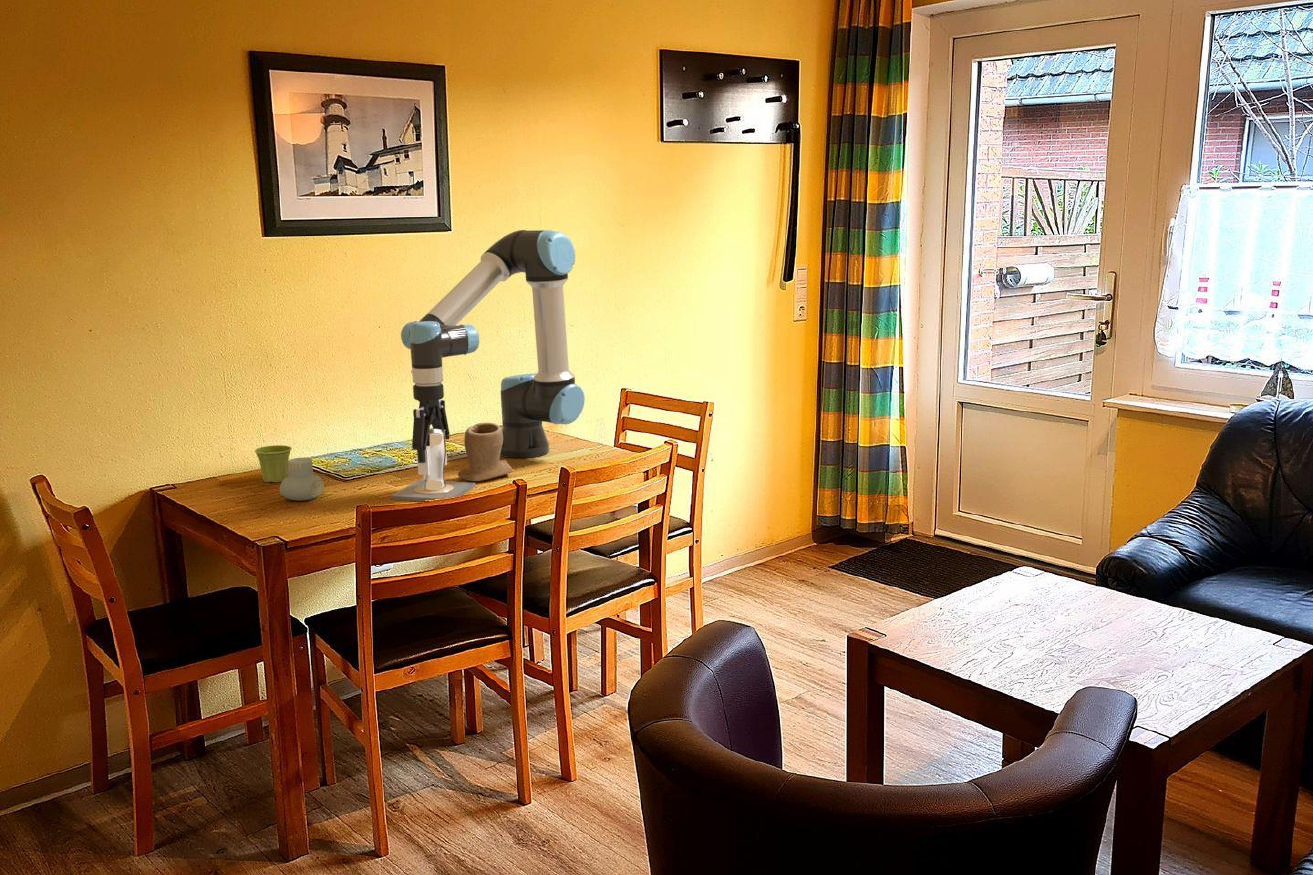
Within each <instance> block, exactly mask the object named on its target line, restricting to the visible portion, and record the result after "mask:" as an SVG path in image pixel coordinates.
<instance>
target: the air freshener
mask: <svg viewBox="0 0 1313 875" xmlns="http://www.w3.org/2000/svg"><path fill="white" fill-rule="evenodd" d="M313 468H314V467H313V459H311V458H310V457H295V458H291V459H289V461H288V477H287V478H285V479H284V480H283V481H282V482H281V483H280V486H279V493H280V494H281V496H283V497H284V498H285V499H288V500H290V501H296V502H301V501H302V502H303V501H311V500H314V499H316V498H317V497H319V496H320V495H321V493H322V492H323V490H324V487H325V486H324V484H325V483H324V480H323V479H322V478H321V477H320V476H319V475H316V474H314V469H313Z"/></svg>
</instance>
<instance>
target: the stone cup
mask: <svg viewBox="0 0 1313 875" xmlns="http://www.w3.org/2000/svg"><path fill="white" fill-rule="evenodd" d="M463 441H464V448H465V449H464V450H465V453H466V455H467V458H468V463H469V467H468V468H465V469H462V470H459V471H458V472H457V476H458V477H459V478H460V479H462V480H465V481H469V482H470V481H471V482H481V481H485V480H490V479H494V478H497V477H498V478H499V477H501V476H505V475H508V474H511V473H513V471H514V470H513V467H512V466H510V464H509V463H508V461H507V460H506V459H500V458H501V456H500V453H501V448H502V445H503V432H502V427H501V426H500V424H497V423H494V422H479V423H476V424H474V425H473V426H468V427H467V429H466V430H465V433H464V440H463Z"/></svg>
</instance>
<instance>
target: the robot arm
mask: <svg viewBox="0 0 1313 875" xmlns="http://www.w3.org/2000/svg"><path fill="white" fill-rule="evenodd" d="M575 250H576V249H575V247H574V245H573V242H572V240H571V239H570V238H569V237H568V236H567V235H566V233H563V232H560V231H555V230H551V229H550V230H548V229H546V230H544V229H543V230H542V229H541V230H539V229H538V230H529V229H528V230H527V229H521V230H514V231H512V232H511V233H508V234H506V235H505V236H503V237H502V238H500V239H498V240H497V241H496V242H494V244H492V245H491V246H489V247H488V249H486V251H484V252H483V253H482V255H481V256H480V261H479V263H477V265H475V266H474V267H473V268H472V269H471V270H470V271H469V272H468V273H467V274H466V275H465V276H464V277H463V278H462V279H461V280H460V281H459V282H458V283H457V284H456V285H455V286H454V287H453V288H452V289H451V290H450V291H449V292H448V293H447V294H446V295H445V296H444V297H442V298H441V299H440V300H439V302H437V303H436V304H435V305H434V306H433V307H432V308H431V309H430V310H429V311H428V312H427V313H426V314H425V315H424V316H423V317H422V318H421V319H419V321H416V320H414V321H410V322H407V323H406V324H405V325H404V326H403V327H402V329H401V332H400V340H401V342H402V345H404V347H406V349H408V350H410V359H411V371H410V372H411V373H410V374H412V383H414V385H413V386H412V391H413V392H412V394H413V399H414V400H415V401H418V405H419V406H418V408H414V409H413V410H412V414H413V415H412V416H413V425H412V428H413V429H412V438H411V440H412V444H411V448H412V450H415V451H416V457H417V472H418V476H423V475H430V472H429V454H428V449H426V447H427V441H428V435H429V429H430V428H431V427H432V428H438V429H443V430H444V432H445V440H448V441H449V440H450V430H449V429H450V428H449V423H448V418H447V412H446V401H445V399H443V398H445V397H444V396H445V389H444V384H443V382H444V373H443V369H444V368H443V358H449V357H455V356H461V355H463V356H467V355H468V354H472V353H475V352H476V351H477V350H478V348H479V346H480V343H481V342H480V334H479V331H478V330H477V328H476V327H475V326H473V325H471V324H459V323H460V322H461V321H462V320H463V319H464V318H465V317H466V316H468V314H469V313H470V312H471V311H472V310H473V309H474V308H475V307H476V306H477V305H479V303H480V302H481V301H482V300H483V299H484V298H485V297H486V296H488V294H489V293H490V292H491V291H492V290H493V289H494V288H495V287H496V286H497V285H498V284H499V283H500V282H506V281H507V280H509V279H510V278H511V276H513V275H515V274H520V273H523V274H524V273H525V282H526V283H527V284H528V285H529V286H530V287H531V289H532V291H531V292H532V305H533V317H534V332H535V344H536V345H535V346H536V347H535V348H536V357H537V359H536V360H537V373H525V374H517V375H516V374H515V375H511V376H507V377H506V376H505V377H504V378H502V380H501V382H500V391H499V392H500V405H501V420H502V427H501V429H502V432H503V445H502V448H501V453H500V457H504V458H511V459H512V458H513V459H522V458H523V459H524V458H525V459H526V458H527V459H528V458H535V457H541V456H544V455H547V454H548V453H549V452H550V444H549V440H548V438H547V435H546V432H545V429H544V426H543V422H545V423H548V424H549V423H551V424H552V425H553V424H554V425H570V424H572V423H574V422H575V421H576V420H578V418H579V416H580V415H581V414H582V412H583V409H584V406H585V399H586V398H585V392H584V390H583V389H582V387H581V386H579V385H578V384H576V379H575V377H576V376H575V374H574V373H573V372H572V371H571V370H570V366H569V355H568V341H567V340H568V339H567V327H566V326H567V325H566V309H565V297H564V296H565V295H564V293H565V292H564V284H565V283H566V282H567V281H568V280H569V273H570V272H571V271H572V270H573V269H574V265H575V263H576V251H575ZM458 324H459V325H458ZM447 457H448V456H447V455H446V458H445V466H447V465H448V459H447Z"/></svg>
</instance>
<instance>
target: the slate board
mask: <svg viewBox="0 0 1313 875" xmlns="http://www.w3.org/2000/svg"><path fill="white" fill-rule="evenodd" d="M422 483H423V479H418V480H416V481H413V482H412V483H411V484H409V485H407V486H406V487H404V488H402V489H401V490H399V491H397V492H395V493H393V494H392V495H391V496H390V498H391V500H393V501H406V502H407V501H409V502H410V501H411V502H424V501H425V500H435V499H445V498H452V497H459V498H460V497H461V496H464V495H465V494H467V493H468V492H469V491H471V490H473V489H474V488H476V482H470V481H469V482H466V481H447V480H445V483H446V488H445V489H443V490H438V491H426V490H423V489H422Z"/></svg>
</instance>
